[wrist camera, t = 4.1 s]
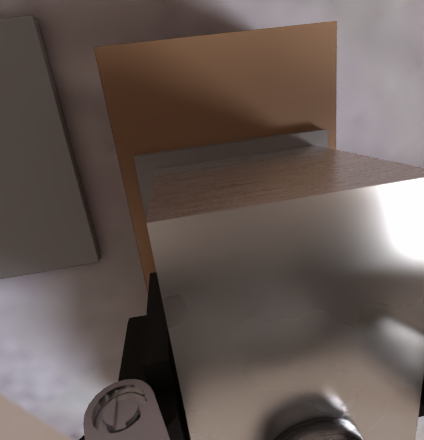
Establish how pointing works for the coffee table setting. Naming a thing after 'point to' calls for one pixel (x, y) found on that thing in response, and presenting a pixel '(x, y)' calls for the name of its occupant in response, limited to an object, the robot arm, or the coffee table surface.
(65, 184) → the rubber mat
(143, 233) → the hand plane
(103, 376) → the coffee table surface
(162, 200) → the grey box with knob
